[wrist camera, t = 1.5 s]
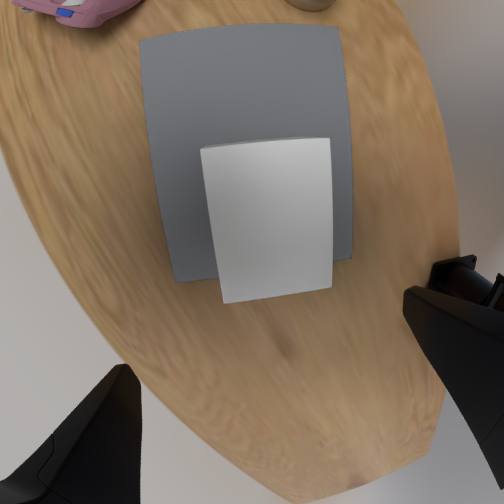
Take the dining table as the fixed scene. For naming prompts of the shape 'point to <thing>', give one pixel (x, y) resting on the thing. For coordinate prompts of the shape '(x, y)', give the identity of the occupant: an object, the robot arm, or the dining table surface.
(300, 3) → the beige cylinder
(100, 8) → the video game controller
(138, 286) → the dining table surface
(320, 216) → the white rectangular block
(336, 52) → the board
